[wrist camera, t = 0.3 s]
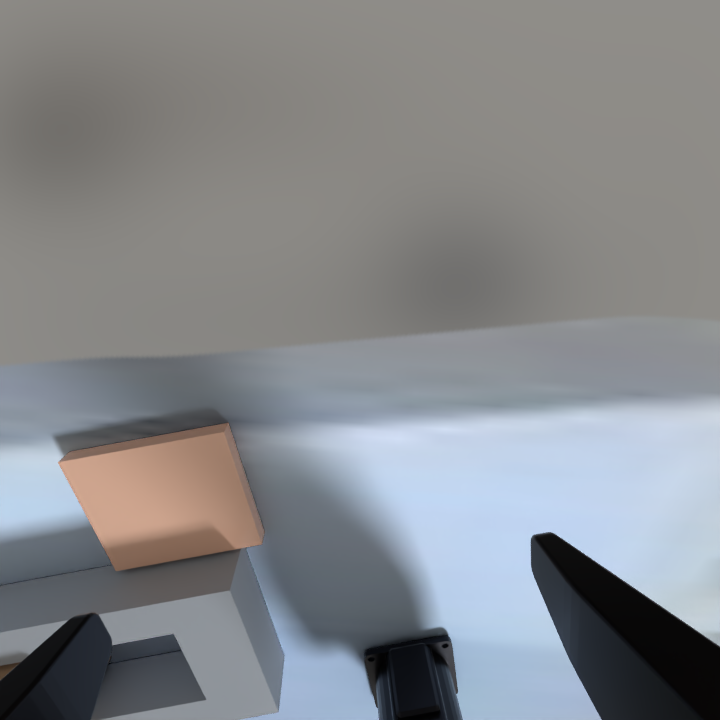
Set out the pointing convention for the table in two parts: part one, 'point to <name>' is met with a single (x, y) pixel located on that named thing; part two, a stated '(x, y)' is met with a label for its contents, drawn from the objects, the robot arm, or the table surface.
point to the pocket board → (159, 618)
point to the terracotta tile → (166, 496)
